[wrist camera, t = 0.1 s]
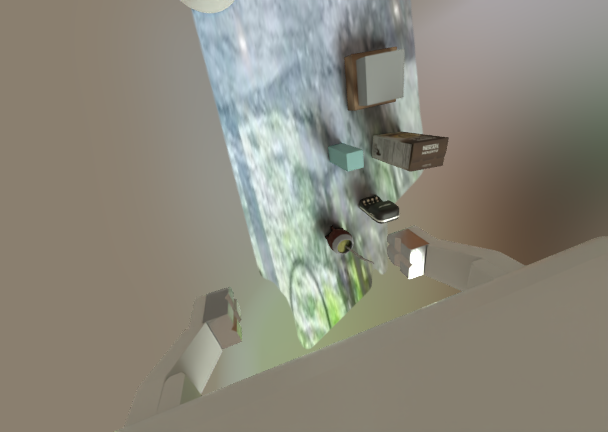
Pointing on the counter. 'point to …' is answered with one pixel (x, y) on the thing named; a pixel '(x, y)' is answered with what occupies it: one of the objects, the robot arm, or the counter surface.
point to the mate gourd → (342, 242)
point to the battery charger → (379, 209)
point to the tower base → (352, 78)
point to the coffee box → (410, 150)
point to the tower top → (380, 77)
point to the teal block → (346, 156)
